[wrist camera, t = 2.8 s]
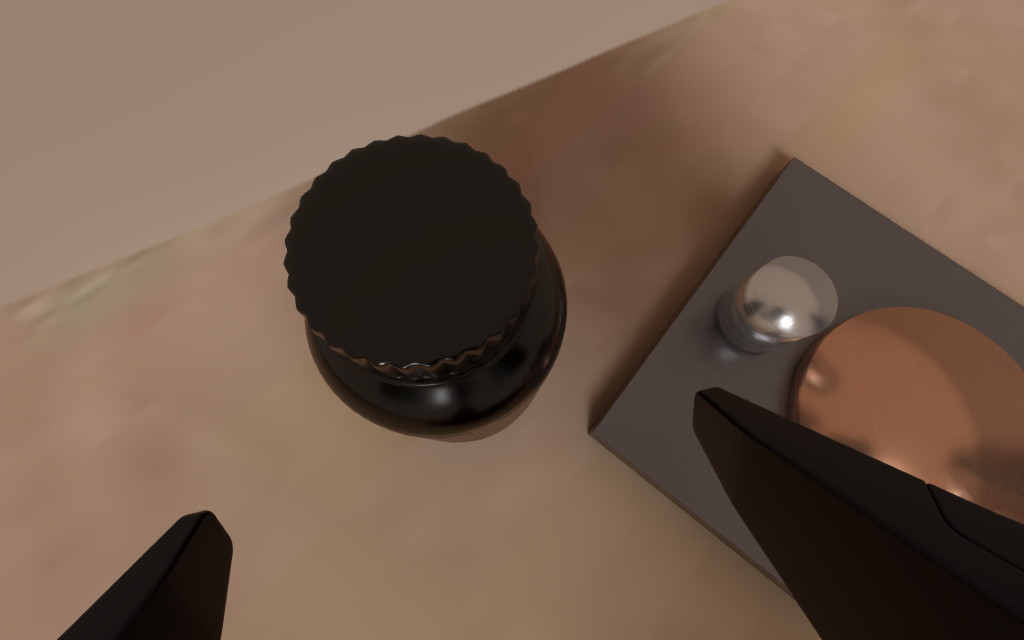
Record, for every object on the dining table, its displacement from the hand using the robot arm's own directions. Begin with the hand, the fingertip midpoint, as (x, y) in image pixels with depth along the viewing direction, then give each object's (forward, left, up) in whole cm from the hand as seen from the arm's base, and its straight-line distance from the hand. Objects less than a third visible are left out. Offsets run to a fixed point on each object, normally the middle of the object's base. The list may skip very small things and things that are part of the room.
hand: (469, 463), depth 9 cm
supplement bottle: (+3, -3, -11) cm, 12 cm away
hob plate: (-13, -12, -11) cm, 20 cm away
